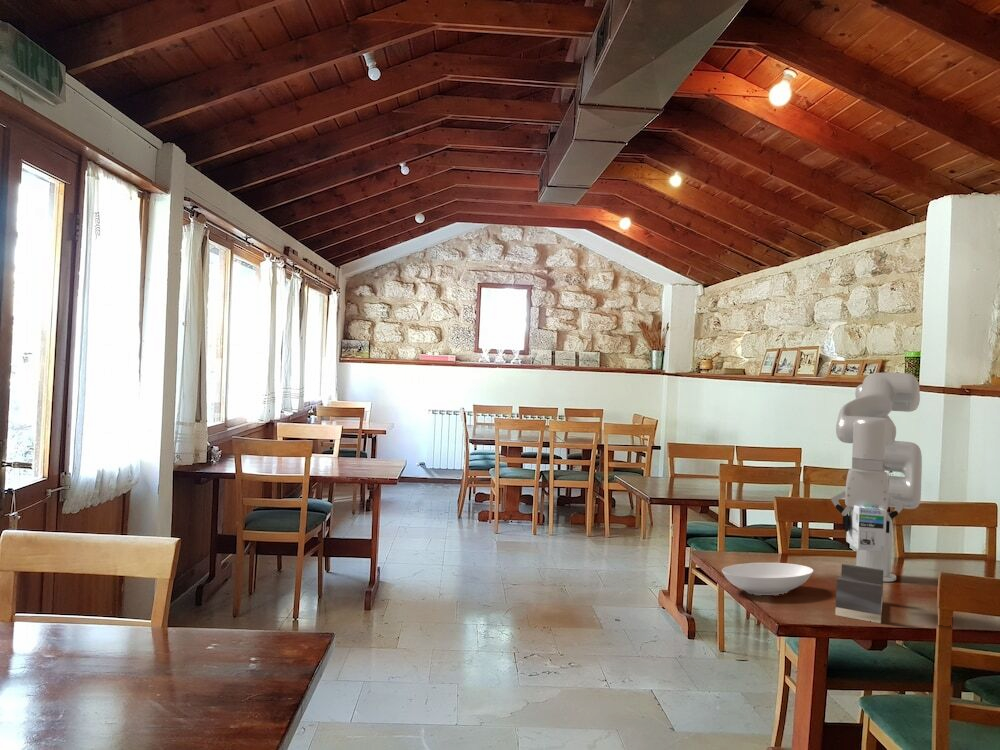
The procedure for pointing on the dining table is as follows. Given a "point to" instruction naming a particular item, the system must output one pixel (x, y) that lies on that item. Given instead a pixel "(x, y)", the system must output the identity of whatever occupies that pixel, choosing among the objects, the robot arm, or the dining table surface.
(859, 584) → the grey phone stand
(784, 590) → the bowl
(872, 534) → the light bulb box
